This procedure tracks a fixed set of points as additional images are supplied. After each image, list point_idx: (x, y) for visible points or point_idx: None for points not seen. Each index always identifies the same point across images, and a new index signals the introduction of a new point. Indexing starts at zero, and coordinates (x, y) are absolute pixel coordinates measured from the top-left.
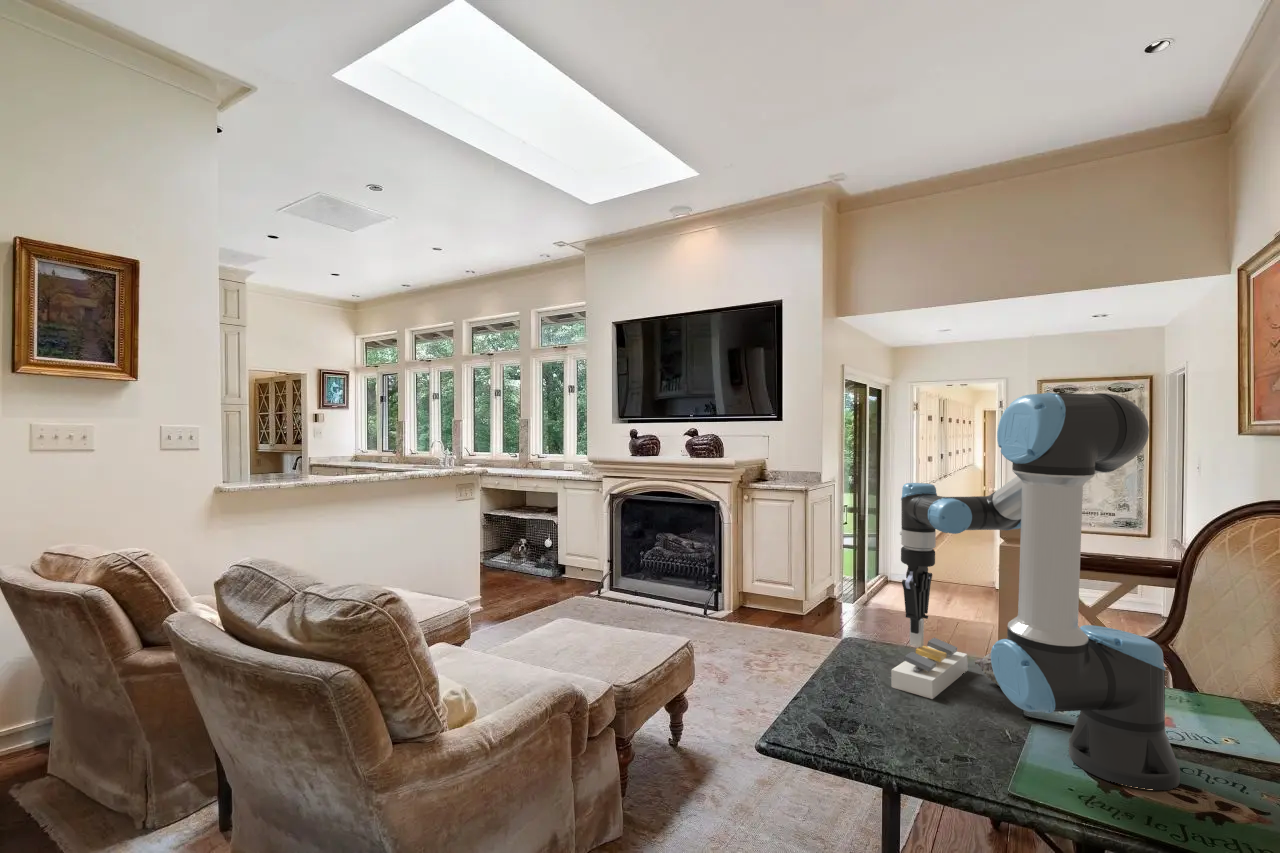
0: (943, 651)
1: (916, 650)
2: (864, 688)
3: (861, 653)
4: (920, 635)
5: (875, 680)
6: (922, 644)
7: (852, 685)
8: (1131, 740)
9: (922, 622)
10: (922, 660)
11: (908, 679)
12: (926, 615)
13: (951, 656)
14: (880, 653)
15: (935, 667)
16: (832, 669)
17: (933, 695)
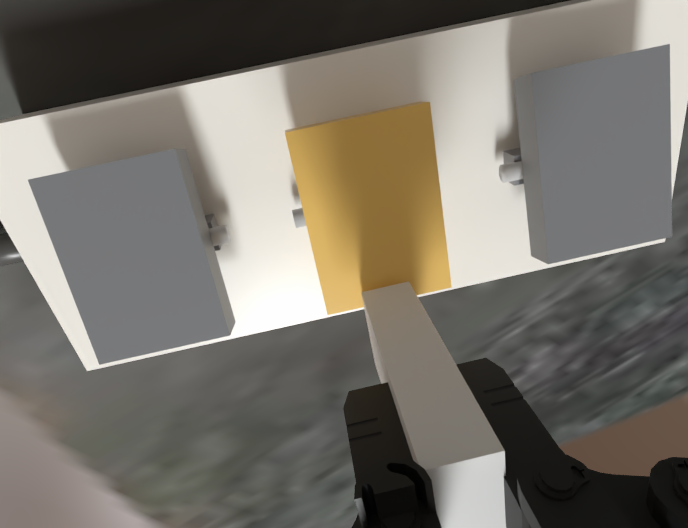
0: (201, 207)
1: (449, 279)
2: (683, 262)
3: (327, 487)
4: (438, 339)
5: (568, 291)
6: (384, 295)
7: (680, 304)
8: None
9: (455, 431)
10: (611, 140)
11: None
12: (363, 514)
13: None
14: (256, 461)
15: (445, 111)
16: (572, 430)
17: None
